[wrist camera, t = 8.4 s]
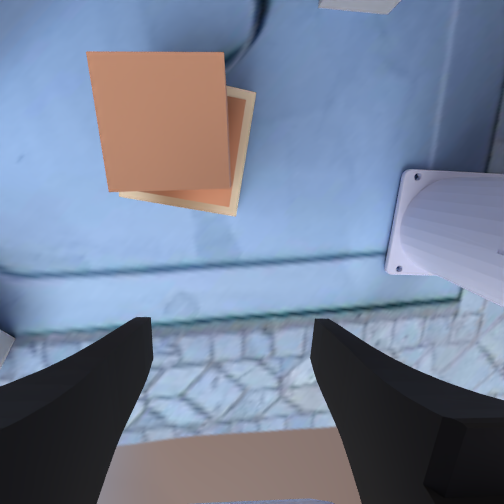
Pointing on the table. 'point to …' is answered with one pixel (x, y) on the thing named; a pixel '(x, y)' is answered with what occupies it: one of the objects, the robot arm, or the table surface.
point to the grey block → (360, 5)
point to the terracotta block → (162, 119)
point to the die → (5, 346)
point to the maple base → (238, 142)
